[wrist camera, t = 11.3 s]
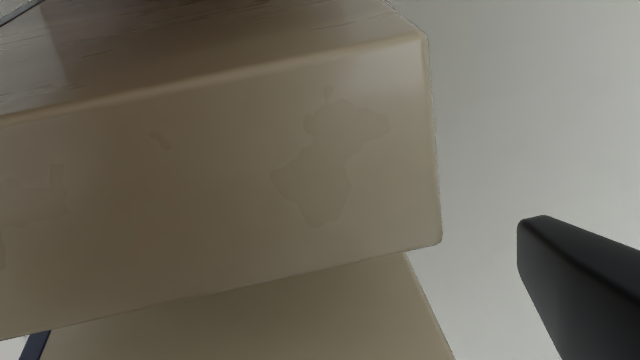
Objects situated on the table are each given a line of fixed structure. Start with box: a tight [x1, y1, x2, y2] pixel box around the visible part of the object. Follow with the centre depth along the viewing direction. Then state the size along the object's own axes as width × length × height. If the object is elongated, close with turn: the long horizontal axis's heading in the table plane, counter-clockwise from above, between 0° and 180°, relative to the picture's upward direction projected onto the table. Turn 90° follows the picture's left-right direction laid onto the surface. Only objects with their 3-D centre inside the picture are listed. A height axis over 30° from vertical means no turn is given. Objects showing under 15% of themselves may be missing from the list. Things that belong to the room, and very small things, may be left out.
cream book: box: [19, 252, 455, 360], centre depth 10 cm, size 5×2×8 cm, turn 101°
